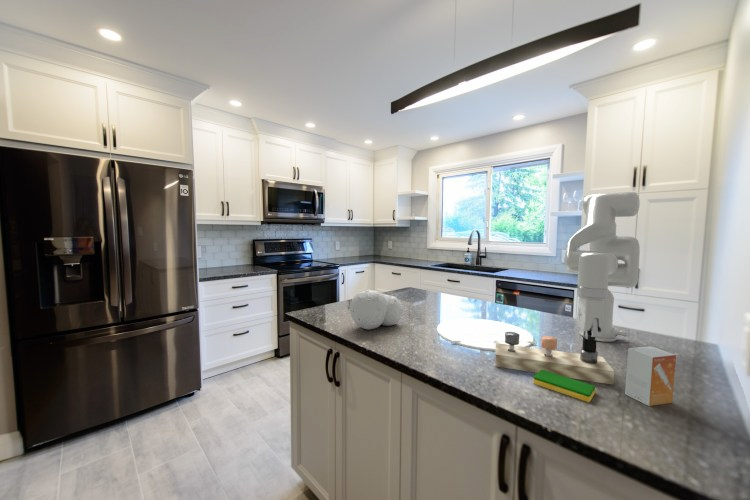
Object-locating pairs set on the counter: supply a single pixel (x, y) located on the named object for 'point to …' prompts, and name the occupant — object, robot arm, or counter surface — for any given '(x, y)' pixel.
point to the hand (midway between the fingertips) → (589, 351)
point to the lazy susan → (481, 333)
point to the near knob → (588, 356)
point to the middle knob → (549, 344)
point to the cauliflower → (375, 309)
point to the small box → (650, 375)
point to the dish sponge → (565, 385)
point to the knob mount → (553, 363)
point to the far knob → (511, 340)
